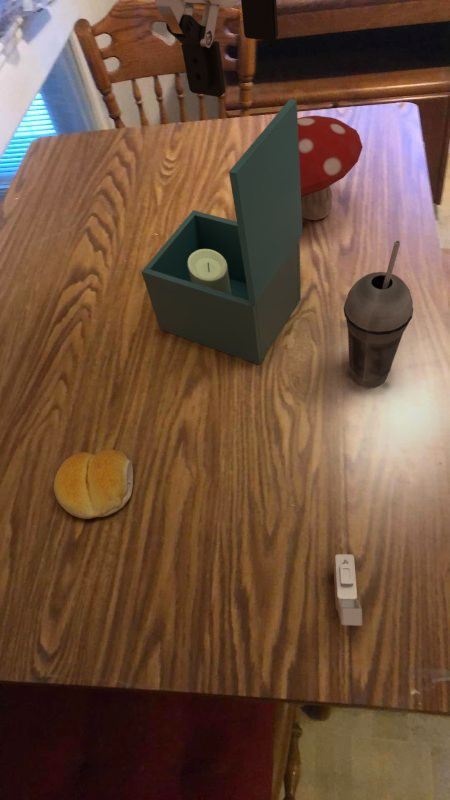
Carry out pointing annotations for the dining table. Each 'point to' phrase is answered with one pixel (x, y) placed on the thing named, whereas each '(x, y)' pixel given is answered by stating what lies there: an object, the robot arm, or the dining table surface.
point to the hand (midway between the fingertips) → (235, 64)
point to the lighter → (346, 590)
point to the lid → (268, 200)
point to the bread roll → (94, 483)
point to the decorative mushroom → (324, 160)
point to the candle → (209, 270)
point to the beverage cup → (376, 323)
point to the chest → (213, 310)
